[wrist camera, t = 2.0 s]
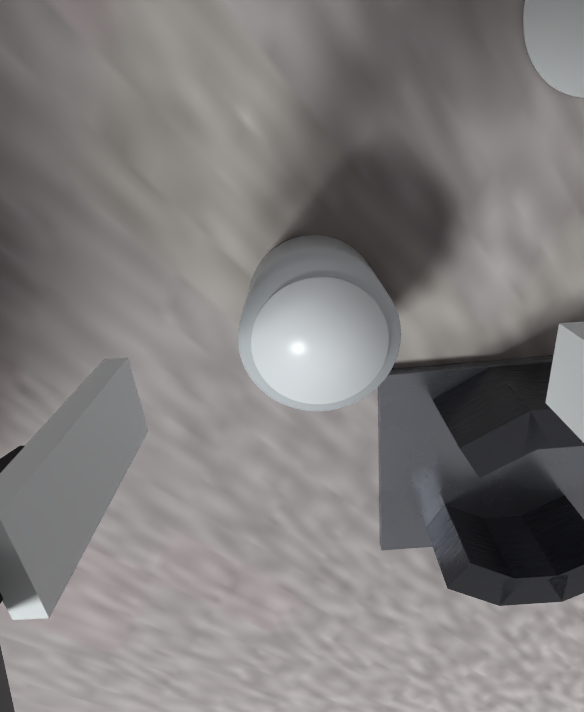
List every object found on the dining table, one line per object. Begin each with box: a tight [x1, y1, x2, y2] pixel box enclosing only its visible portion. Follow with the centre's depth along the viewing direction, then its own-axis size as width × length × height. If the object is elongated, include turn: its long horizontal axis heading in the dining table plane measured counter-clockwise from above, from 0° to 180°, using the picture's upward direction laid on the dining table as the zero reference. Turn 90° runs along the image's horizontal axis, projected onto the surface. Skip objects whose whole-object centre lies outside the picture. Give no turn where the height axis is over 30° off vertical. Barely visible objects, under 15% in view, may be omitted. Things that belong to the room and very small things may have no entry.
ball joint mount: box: [378, 356, 584, 606], centre depth 23 cm, size 14×12×5 cm
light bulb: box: [238, 235, 401, 411], centre depth 19 cm, size 6×6×5 cm
